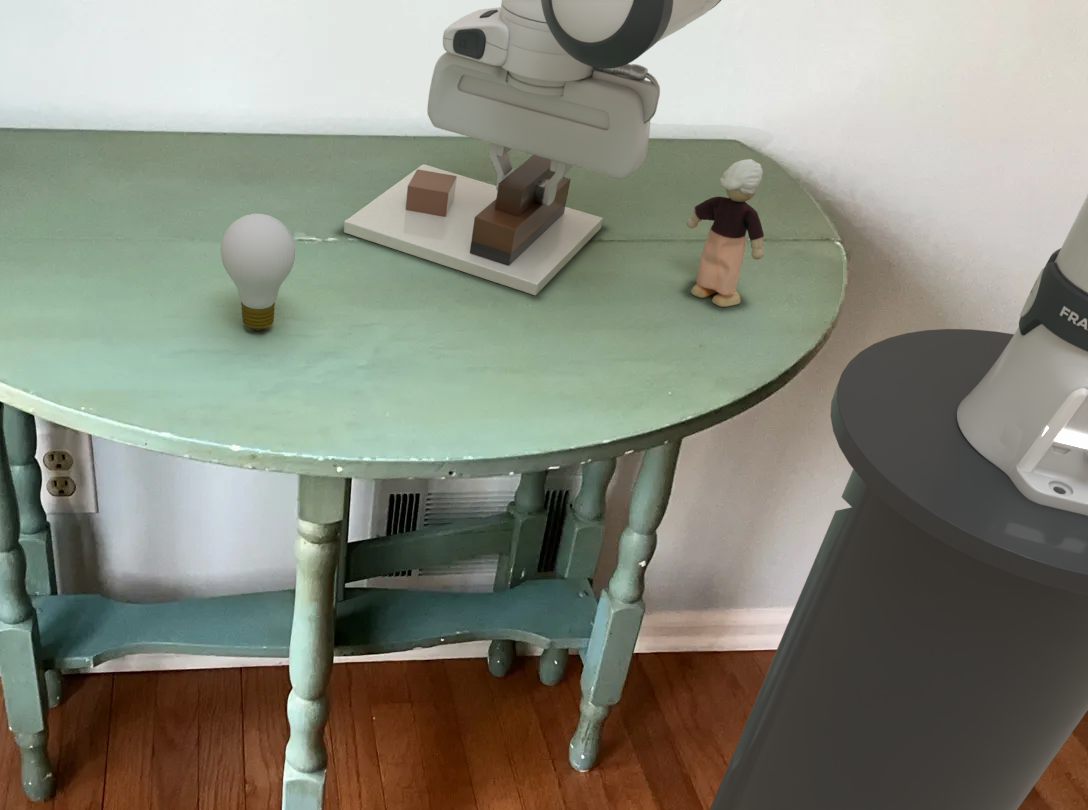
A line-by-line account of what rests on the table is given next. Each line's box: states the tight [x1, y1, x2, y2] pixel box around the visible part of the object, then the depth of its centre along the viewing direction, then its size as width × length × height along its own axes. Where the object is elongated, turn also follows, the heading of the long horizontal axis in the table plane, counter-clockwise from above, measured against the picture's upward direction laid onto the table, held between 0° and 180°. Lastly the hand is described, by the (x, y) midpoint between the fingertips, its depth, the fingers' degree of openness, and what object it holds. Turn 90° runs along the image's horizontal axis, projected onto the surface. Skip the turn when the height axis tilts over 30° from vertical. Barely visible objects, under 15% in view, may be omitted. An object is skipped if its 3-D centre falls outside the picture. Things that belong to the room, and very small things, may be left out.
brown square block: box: [406, 168, 457, 217], centre depth 115 cm, size 4×4×2 cm
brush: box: [470, 154, 572, 266], centre depth 111 cm, size 13×4×6 cm, turn 150°
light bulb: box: [220, 213, 296, 332], centre depth 96 cm, size 6×6×10 cm
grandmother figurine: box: [685, 158, 765, 308], centre depth 104 cm, size 8×4×13 cm, turn 57°
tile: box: [343, 163, 604, 296], centre depth 115 cm, size 20×16×1 cm
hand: (524, 196), depth 110 cm, fingers closed on brush, 2 cm apart
